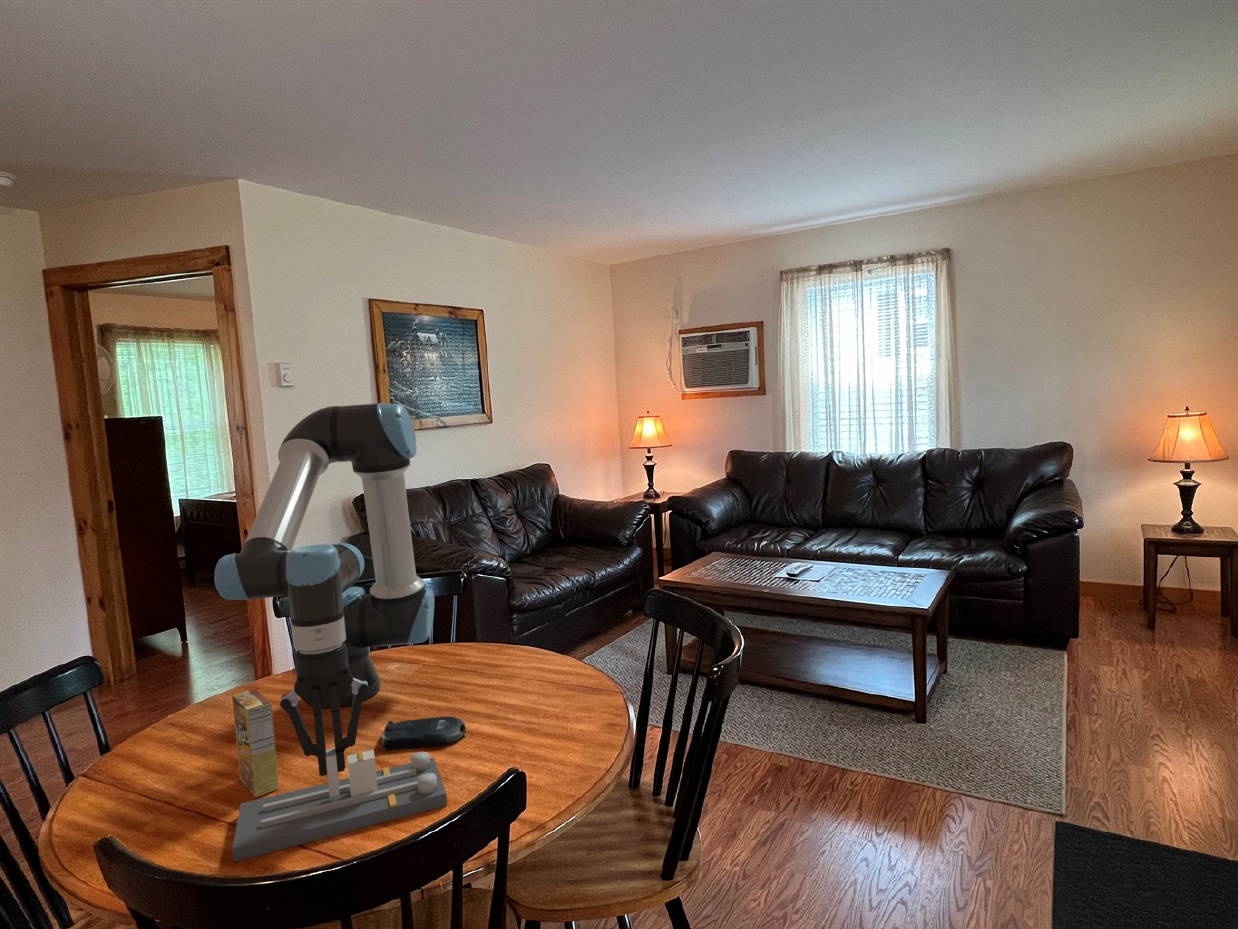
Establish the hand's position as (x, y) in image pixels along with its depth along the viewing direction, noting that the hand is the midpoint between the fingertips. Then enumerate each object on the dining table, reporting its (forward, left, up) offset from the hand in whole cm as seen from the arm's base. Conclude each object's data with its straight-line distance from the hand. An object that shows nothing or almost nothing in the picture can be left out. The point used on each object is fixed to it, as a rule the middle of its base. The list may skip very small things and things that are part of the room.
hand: (334, 792), depth 113 cm
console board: (0, +1, -3) cm, 4 cm away
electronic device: (-19, +17, -4) cm, 26 cm away
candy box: (-16, -12, -4) cm, 20 cm away
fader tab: (0, +4, -1) cm, 4 cm away
